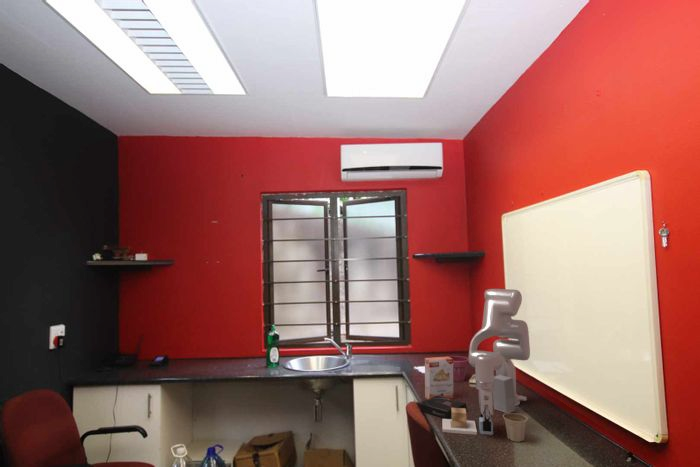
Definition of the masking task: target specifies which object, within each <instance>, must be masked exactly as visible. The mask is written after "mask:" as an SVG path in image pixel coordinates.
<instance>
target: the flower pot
mask: <svg viewBox="0 0 700 467" xmlns="http://www.w3.org/2000/svg"><path fill="white" fill-rule="evenodd" d="M502 417H503V421H504V423H505V429H506V437H507V439H508V440H510V441H512V442H518V443H520V442H524V440H525V433H526V426H527V422H528V417H527V416H526V415H523V414H521V413H515V412H511V413H503V415H502Z"/></svg>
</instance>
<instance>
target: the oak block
mask: <svg viewBox="0 0 700 467" xmlns="http://www.w3.org/2000/svg"><path fill="white" fill-rule="evenodd" d="M451 409H452V418H451V419H452V427H461V428H467V422H466V420H467V410H466V409H465V408H451Z"/></svg>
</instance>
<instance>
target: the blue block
mask: <svg viewBox="0 0 700 467" xmlns="http://www.w3.org/2000/svg"><path fill="white" fill-rule="evenodd" d="M490 420H491V432H490V431H483V418H482V417H481V416H480V417H478V427H479V428H478V429H479V433H480V434H481V435H492V436H493V435H494V422H493V420H492V417H490Z"/></svg>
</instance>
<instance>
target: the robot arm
mask: <svg viewBox="0 0 700 467" xmlns="http://www.w3.org/2000/svg"><path fill="white" fill-rule="evenodd" d="M483 295H484V296H483V298H484V304H483V305H484V306H483V307H484V308H483V314H482V315H483V316H482V324H481V329H480V330H478V331H477V332H476V333H475V334H474V336H473V337H472V339H471V340H470V342H469V343H470V344H469V350H468V357H467V358H468V362H469V366H471V367H473V368H474V369H475V370H474V371H475V372H474V373H475V378H474V379H475V389H476V390H478V405H479V411H480V417H482V418H483V431H490V432H491V420H490V418H491V416H494V405H493V393H492V390H494V376H498V375H502V376H506V377H510V378H513V386H514V397H515V407H517V406H519V405H520V403H521V401H527V400H528V399H527V396H523V394H522V395H521V394H520V395H518V393H517V380H516V379H517V378H516V367H515V364H514V363H513V361H512V360H515V361H528V360H529V359H530V356H531V346H530V334H529V326H528V324H527V322H526V321H524V320H521V319H513V318H512V317H515V316H516V315H517V314H518V313H519V310H520V308H521V305H522V302H523V296H522V293H521V292H520V290H518V289H506V288H505V289H504V288H488V289H486V290H485V291H484V294H483ZM494 336H495V337H499V339H496V340H494V342H493V343H492V348H493V349H492V350H493V351H488V350H487V351H486V350H478V347H479V345H480V344H481V343H482V341H485V340H486V339H489V338H491V337H494ZM494 371H495V372H494ZM494 373H495V374H494Z"/></svg>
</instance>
